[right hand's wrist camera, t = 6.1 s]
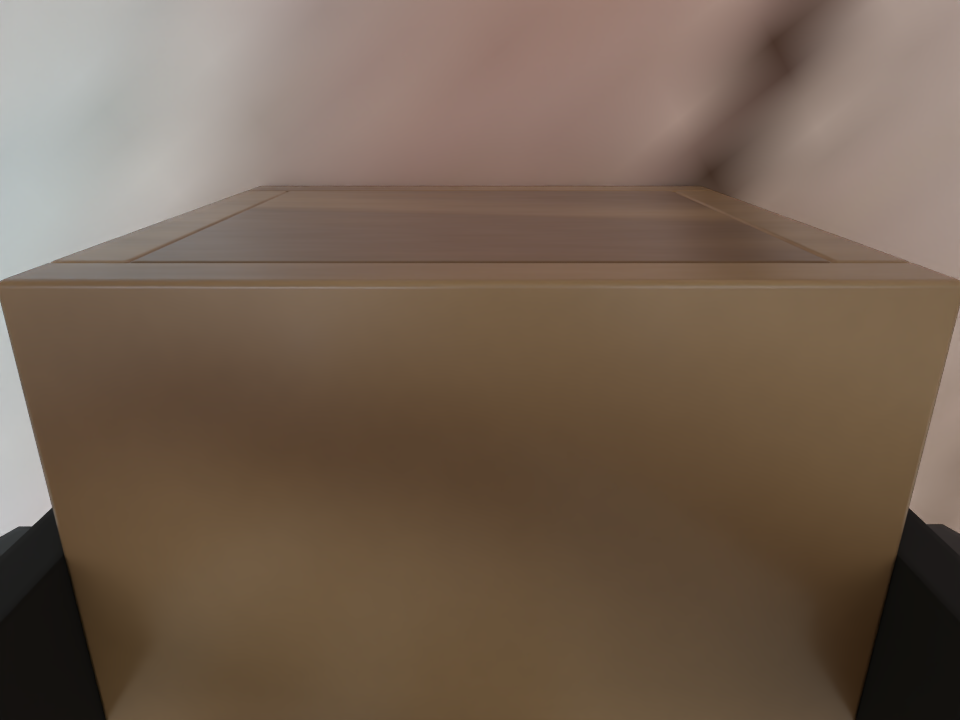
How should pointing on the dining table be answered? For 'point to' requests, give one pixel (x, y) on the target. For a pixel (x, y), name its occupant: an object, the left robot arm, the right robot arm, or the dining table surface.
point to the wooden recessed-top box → (480, 453)
